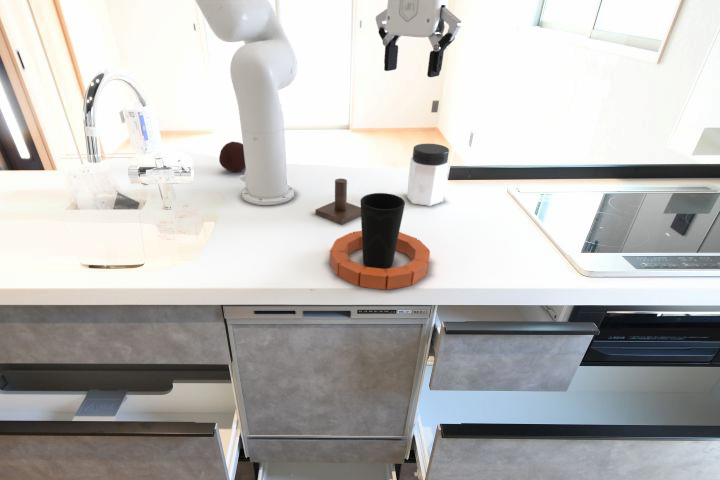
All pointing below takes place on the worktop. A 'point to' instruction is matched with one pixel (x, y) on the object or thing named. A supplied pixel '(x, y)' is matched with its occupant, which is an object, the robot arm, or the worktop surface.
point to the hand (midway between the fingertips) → (411, 73)
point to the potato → (232, 157)
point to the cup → (380, 228)
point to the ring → (376, 275)
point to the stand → (339, 206)
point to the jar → (428, 174)
